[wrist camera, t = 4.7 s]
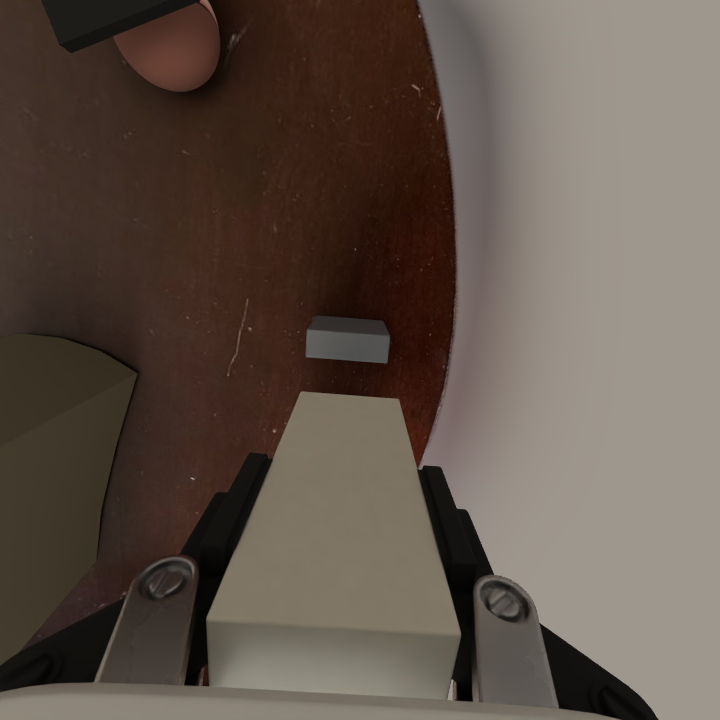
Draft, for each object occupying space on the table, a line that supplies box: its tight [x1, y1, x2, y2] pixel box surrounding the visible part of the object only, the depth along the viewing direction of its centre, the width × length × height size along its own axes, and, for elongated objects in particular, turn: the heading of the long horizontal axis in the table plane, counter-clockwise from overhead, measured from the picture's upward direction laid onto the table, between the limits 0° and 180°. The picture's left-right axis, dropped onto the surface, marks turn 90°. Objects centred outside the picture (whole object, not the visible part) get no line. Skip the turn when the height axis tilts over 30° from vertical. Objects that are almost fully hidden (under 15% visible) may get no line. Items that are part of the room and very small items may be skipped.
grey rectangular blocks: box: [305, 315, 390, 363], centre depth 23 cm, size 8×5×5 cm, turn 175°
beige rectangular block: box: [206, 392, 461, 700], centre depth 12 cm, size 3×5×11 cm, turn 85°
